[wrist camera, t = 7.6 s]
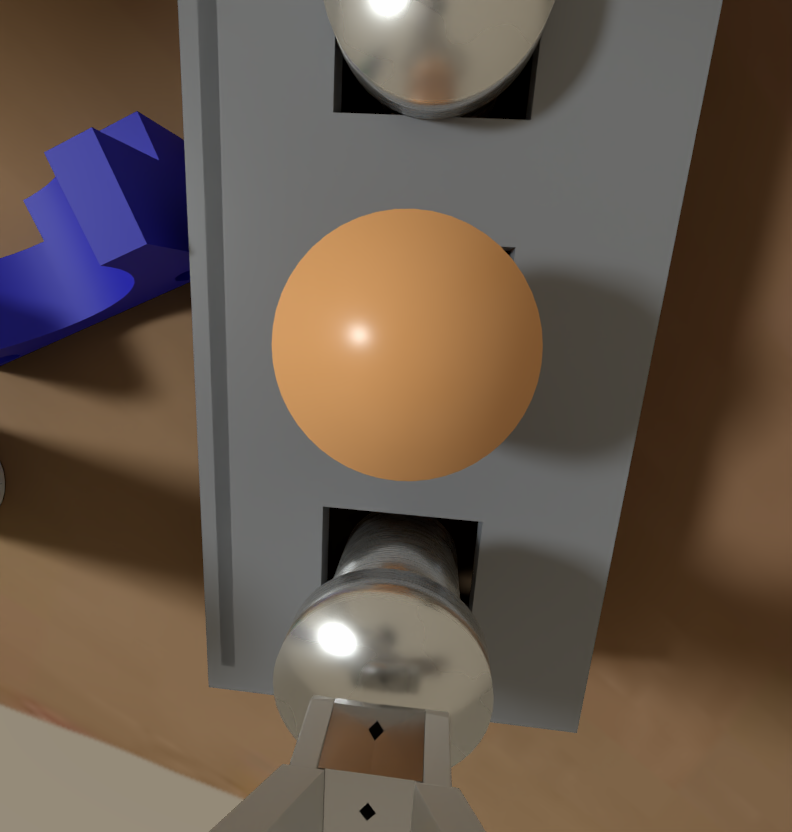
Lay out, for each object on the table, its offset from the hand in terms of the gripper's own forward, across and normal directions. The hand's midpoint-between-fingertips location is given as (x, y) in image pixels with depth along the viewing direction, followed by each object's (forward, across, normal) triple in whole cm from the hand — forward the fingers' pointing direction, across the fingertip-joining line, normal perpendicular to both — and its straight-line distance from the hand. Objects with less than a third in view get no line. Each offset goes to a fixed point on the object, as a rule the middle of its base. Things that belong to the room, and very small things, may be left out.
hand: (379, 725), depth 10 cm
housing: (+10, 0, -8) cm, 13 cm away
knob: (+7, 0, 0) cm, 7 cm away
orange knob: (+7, 0, -8) cm, 11 cm away
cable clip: (+11, +14, -10) cm, 20 cm away
